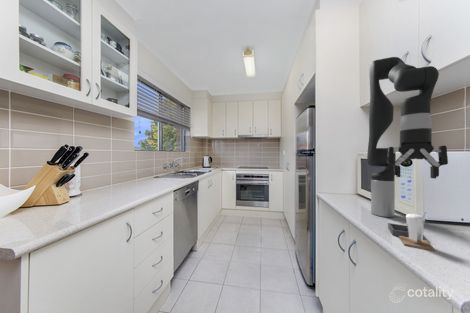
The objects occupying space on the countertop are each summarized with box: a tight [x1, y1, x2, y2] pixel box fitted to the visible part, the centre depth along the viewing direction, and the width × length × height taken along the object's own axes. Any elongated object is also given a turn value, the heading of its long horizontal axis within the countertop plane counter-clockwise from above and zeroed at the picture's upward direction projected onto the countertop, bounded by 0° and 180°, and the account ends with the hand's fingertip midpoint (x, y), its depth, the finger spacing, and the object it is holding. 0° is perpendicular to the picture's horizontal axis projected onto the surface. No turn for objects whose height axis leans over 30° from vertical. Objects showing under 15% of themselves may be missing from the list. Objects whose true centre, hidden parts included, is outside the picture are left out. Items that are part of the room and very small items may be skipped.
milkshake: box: [405, 211, 427, 244], centre depth 61 cm, size 4×5×10 cm
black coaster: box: [387, 222, 425, 240], centre depth 68 cm, size 8×8×2 cm
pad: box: [398, 236, 436, 252], centre depth 61 cm, size 7×7×1 cm
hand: (415, 177), depth 61 cm, fingers open, 8 cm apart
